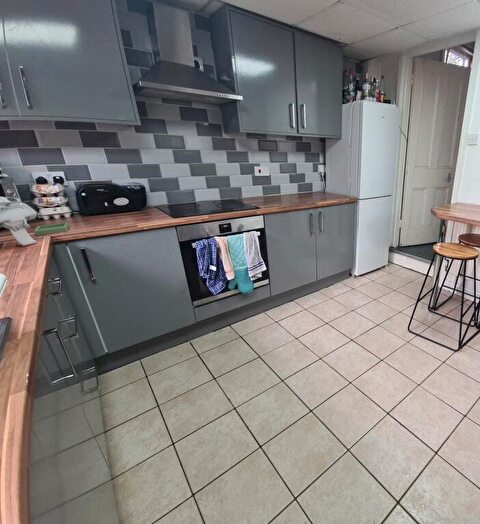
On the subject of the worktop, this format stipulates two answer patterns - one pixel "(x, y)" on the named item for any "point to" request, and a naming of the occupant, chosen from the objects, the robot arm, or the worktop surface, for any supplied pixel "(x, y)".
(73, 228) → the worktop surface
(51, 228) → the tray
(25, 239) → the light grey curved piece
